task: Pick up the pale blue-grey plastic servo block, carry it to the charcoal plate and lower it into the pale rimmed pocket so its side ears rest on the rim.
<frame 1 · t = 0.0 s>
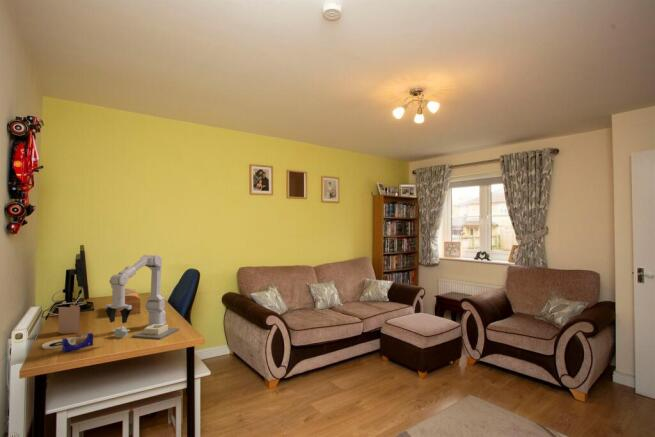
hand: (118, 322, 176), 10 cm above the table, tool pointing down, fingers open, 7 cm apart
greeting card: (69, 333, 190), on the table
blue cradle holder: (78, 349, 166), on the table
servo block: (120, 336, 184), on the table
light piece: (66, 344, 174), on the table
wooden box: (126, 311, 240), on the table
pocket plate: (156, 333, 188), on the table
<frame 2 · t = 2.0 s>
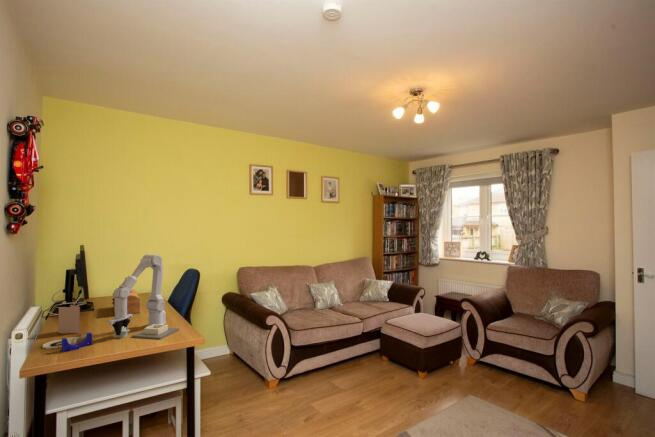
hand: (120, 333, 184), 1 cm above the table, tool pointing down, fingers closed on servo block, 3 cm apart
servo block: (120, 336, 184), on the table, touching gripper
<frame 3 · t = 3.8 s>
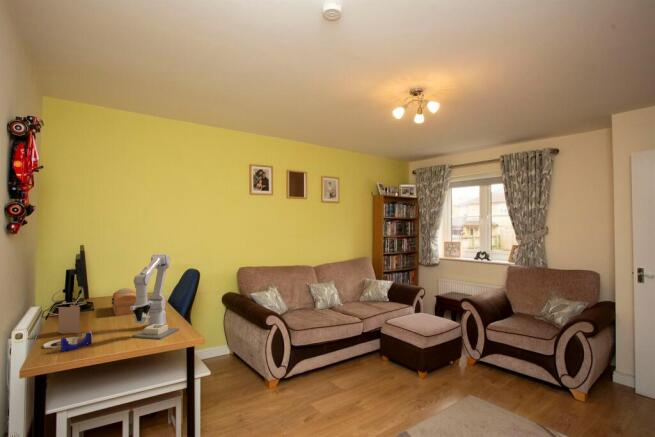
hand: (141, 319, 186), 8 cm above the table, tool pointing down, fingers closed on servo block, 3 cm apart
servo block: (141, 322, 186), point 7 cm above the table, touching gripper
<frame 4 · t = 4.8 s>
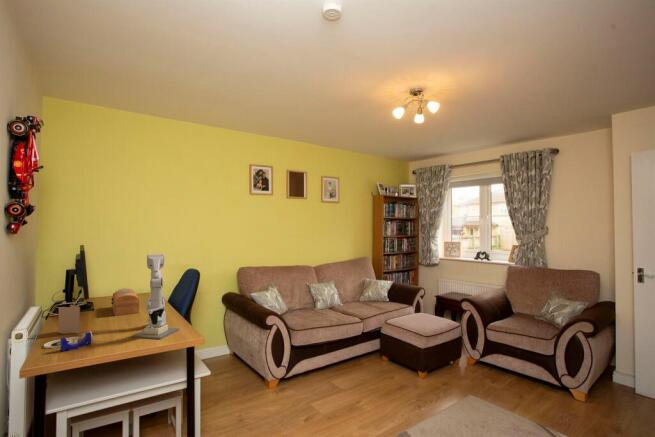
hand: (156, 323, 188), 6 cm above the table, tool pointing down, fingers closed on servo block, 3 cm apart
servo block: (155, 326, 188), point 4 cm above the table, touching gripper
when the fingers open (5 cm above the table, at t = 5.7 s): servo block drops 2 cm, resting on pocket plate.
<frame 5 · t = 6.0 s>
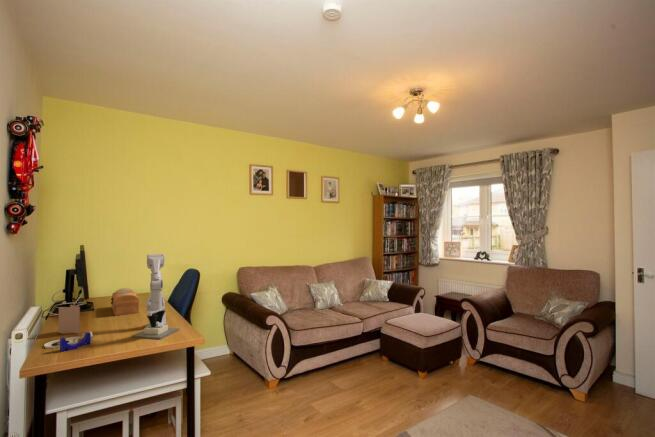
hand: (156, 325, 188), 5 cm above the table, tool pointing down, fingers open, 5 cm apart
servo block: (155, 331, 188), point 1 cm above the table, touching pocket plate
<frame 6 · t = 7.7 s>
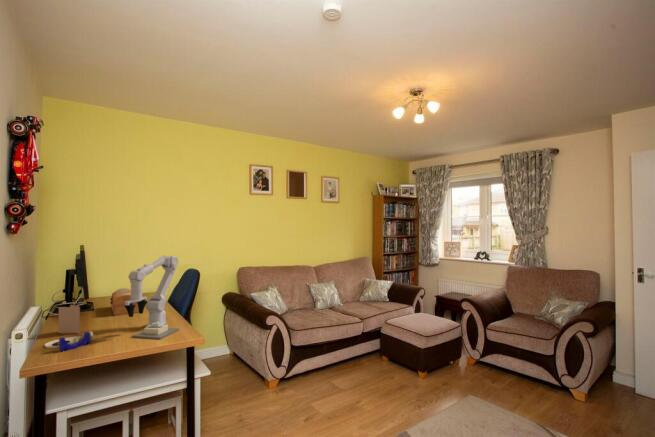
hand: (135, 315, 190), 10 cm above the table, tool pointing down, fingers open, 7 cm apart
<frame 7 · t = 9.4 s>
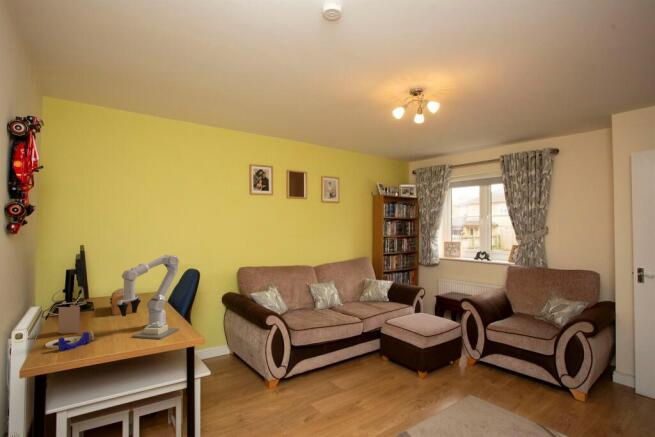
hand: (129, 314, 191), 10 cm above the table, tool pointing down, fingers open, 7 cm apart
at the end: servo block 0.2 cm off-centre on the pocket plate, point 1.0 cm above the pocket plate's base; servo block tilted 0°; the gripper is holding nothing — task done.
